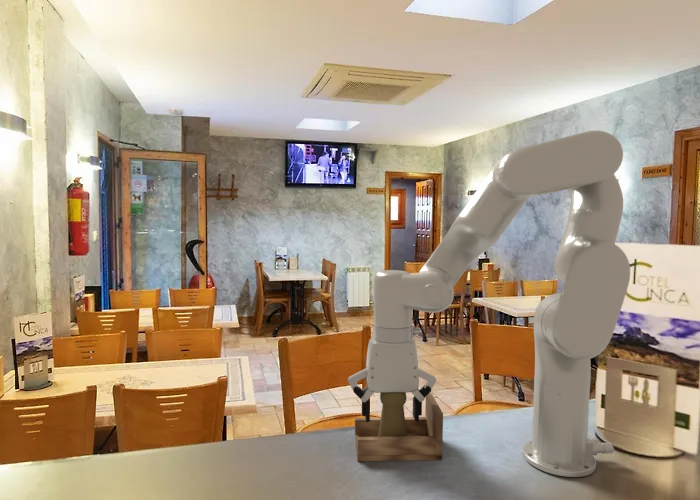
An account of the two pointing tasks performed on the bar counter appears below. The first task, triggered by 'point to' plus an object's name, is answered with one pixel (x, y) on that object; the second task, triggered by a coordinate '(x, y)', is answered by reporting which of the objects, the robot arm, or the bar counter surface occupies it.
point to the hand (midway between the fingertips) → (391, 419)
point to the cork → (392, 415)
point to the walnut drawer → (402, 438)
